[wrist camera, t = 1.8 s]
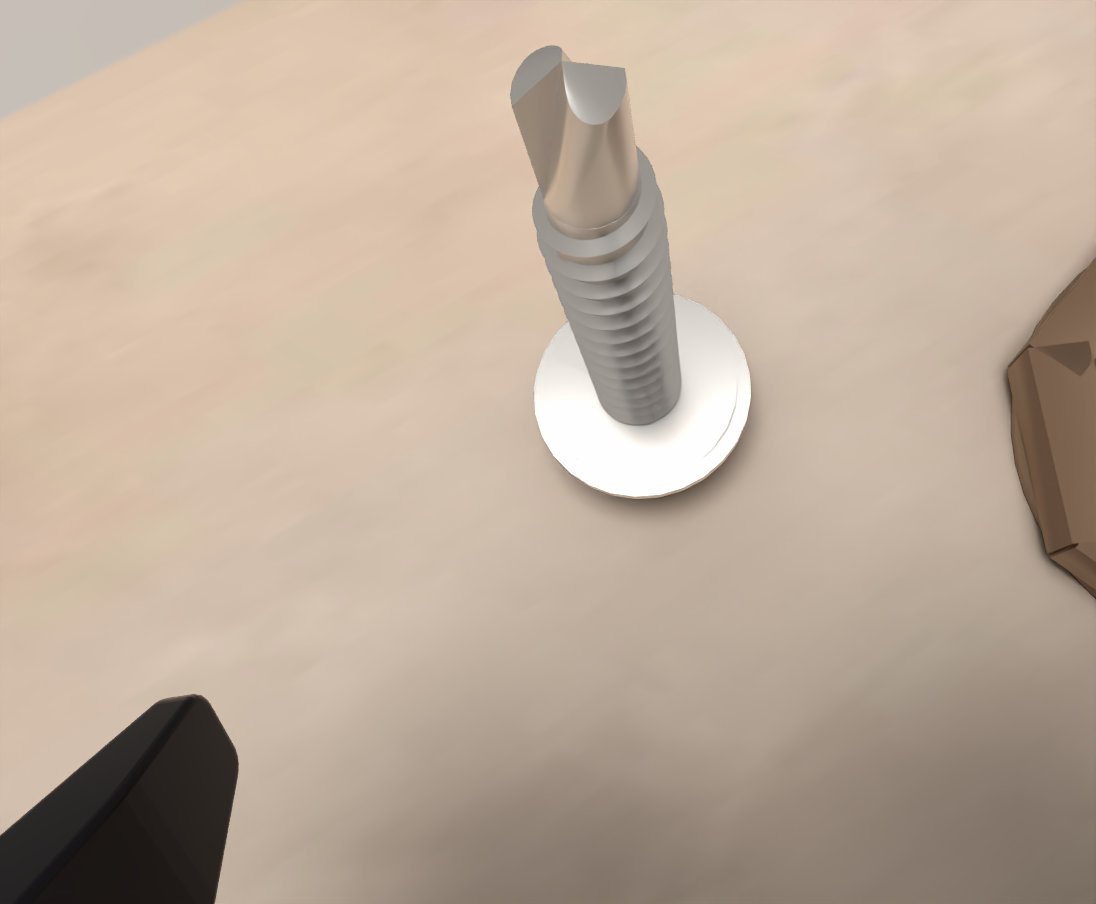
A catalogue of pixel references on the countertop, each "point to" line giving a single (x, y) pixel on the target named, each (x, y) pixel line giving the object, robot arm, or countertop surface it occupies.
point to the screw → (618, 298)
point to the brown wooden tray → (1060, 426)
